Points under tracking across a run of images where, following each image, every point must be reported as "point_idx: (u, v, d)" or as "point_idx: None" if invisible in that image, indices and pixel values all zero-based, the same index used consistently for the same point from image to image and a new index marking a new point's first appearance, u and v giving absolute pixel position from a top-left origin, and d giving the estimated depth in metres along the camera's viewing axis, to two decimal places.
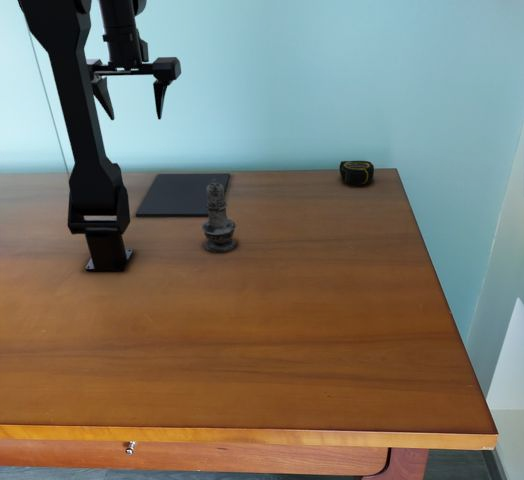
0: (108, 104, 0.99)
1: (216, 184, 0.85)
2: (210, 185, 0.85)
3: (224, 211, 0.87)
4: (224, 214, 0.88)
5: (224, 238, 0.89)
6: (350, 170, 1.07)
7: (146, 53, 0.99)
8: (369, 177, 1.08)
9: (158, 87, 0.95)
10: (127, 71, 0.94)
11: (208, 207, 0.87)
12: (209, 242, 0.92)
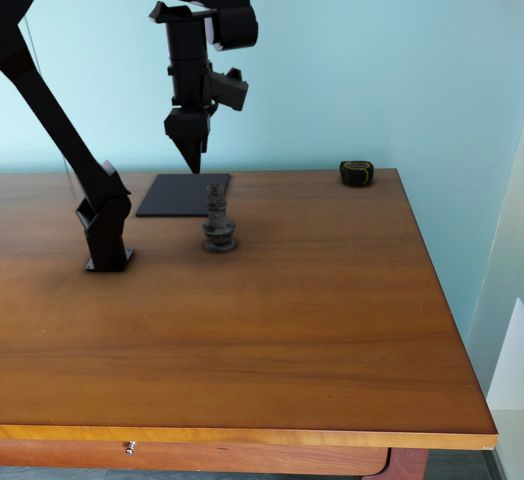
0: None
1: (216, 184, 0.85)
2: (210, 185, 0.85)
3: (224, 211, 0.87)
4: (224, 214, 0.88)
5: (224, 238, 0.89)
6: (350, 170, 1.07)
7: (229, 100, 0.78)
8: (369, 177, 1.08)
9: None
10: None
11: (208, 207, 0.87)
12: (209, 242, 0.92)
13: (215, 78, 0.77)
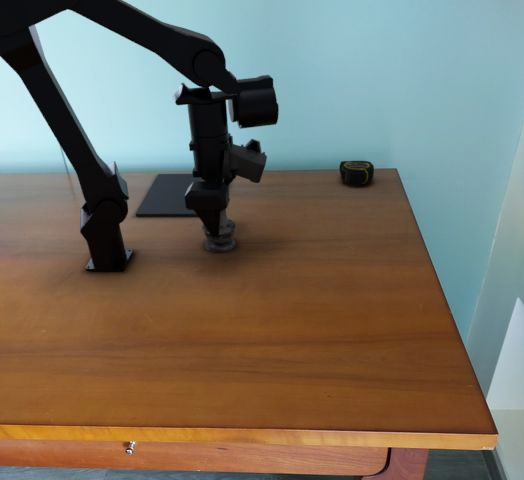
0: None
1: None
2: None
3: (224, 211, 0.87)
4: (224, 214, 0.88)
5: (224, 238, 0.89)
6: (350, 170, 1.07)
7: (248, 173, 0.81)
8: (369, 177, 1.08)
9: None
10: (202, 179, 0.83)
11: None
12: (209, 242, 0.92)
13: (235, 153, 0.80)
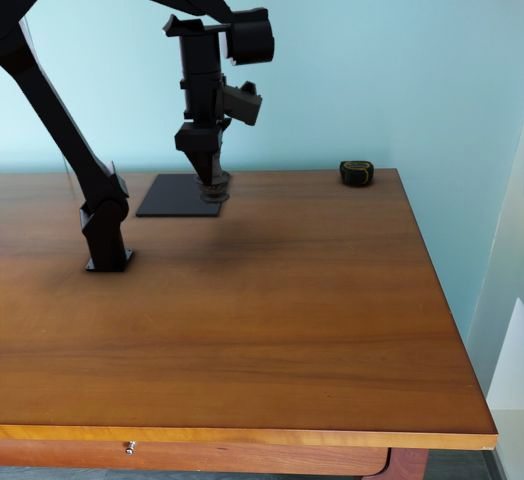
0: None
1: None
2: None
3: (219, 158, 0.83)
4: (219, 161, 0.83)
5: (221, 187, 0.84)
6: (350, 170, 1.07)
7: (242, 114, 0.76)
8: (369, 177, 1.08)
9: None
10: None
11: None
12: (202, 196, 0.87)
13: (228, 92, 0.75)
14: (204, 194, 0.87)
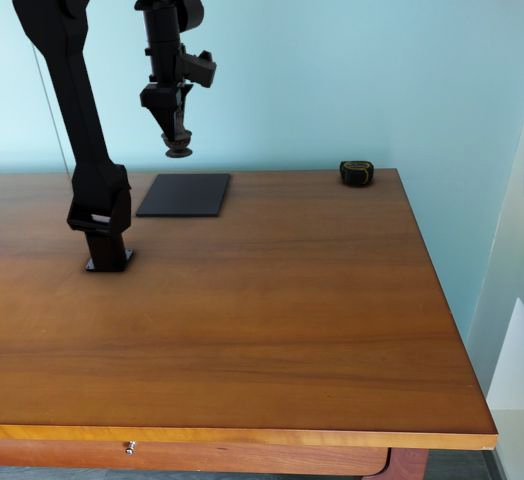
0: None
1: None
2: None
3: (181, 117, 0.97)
4: (182, 120, 0.97)
5: (184, 143, 0.98)
6: (350, 170, 1.07)
7: (198, 77, 0.90)
8: (369, 177, 1.08)
9: None
10: None
11: None
12: (169, 152, 1.00)
13: (186, 58, 0.89)
14: (170, 150, 1.01)
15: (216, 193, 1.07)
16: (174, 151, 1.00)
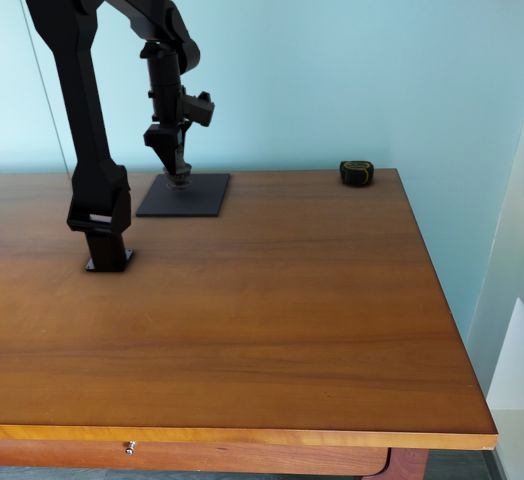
0: None
1: None
2: None
3: (182, 153, 1.03)
4: (182, 155, 1.03)
5: (185, 176, 1.04)
6: (350, 170, 1.07)
7: (198, 118, 0.96)
8: (369, 177, 1.08)
9: None
10: None
11: None
12: (170, 184, 1.07)
13: (186, 100, 0.96)
14: (171, 182, 1.07)
15: (216, 193, 1.07)
16: (175, 183, 1.06)
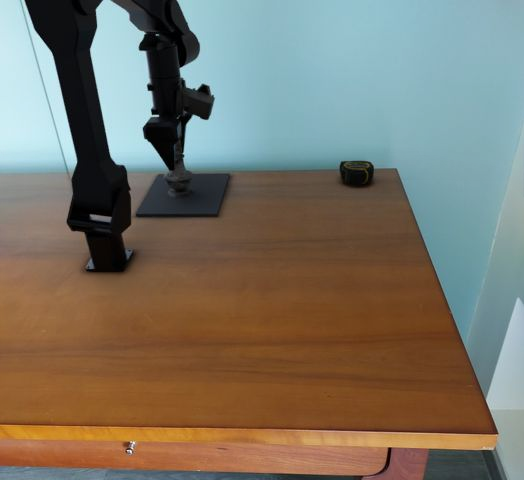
0: None
1: None
2: None
3: None
4: None
5: None
6: (350, 170, 1.07)
7: (197, 110, 0.96)
8: (369, 177, 1.08)
9: None
10: None
11: None
12: (187, 186, 1.09)
13: (186, 93, 0.95)
14: (187, 188, 1.09)
15: (216, 193, 1.07)
16: None
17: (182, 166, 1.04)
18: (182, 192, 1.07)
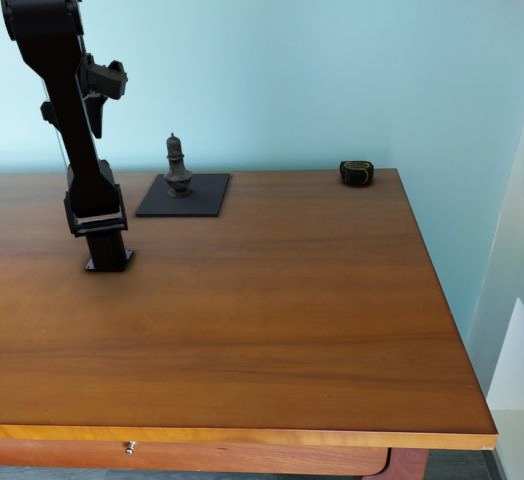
0: (91, 122, 0.96)
1: (170, 137, 1.02)
2: None
3: None
4: (169, 164, 1.04)
5: None
6: (350, 170, 1.07)
7: (105, 89, 0.86)
8: (369, 177, 1.08)
9: None
10: None
11: None
12: (187, 186, 1.09)
13: (91, 69, 0.85)
14: (187, 188, 1.09)
15: (216, 193, 1.07)
16: None
17: (182, 166, 1.04)
18: (182, 192, 1.07)
